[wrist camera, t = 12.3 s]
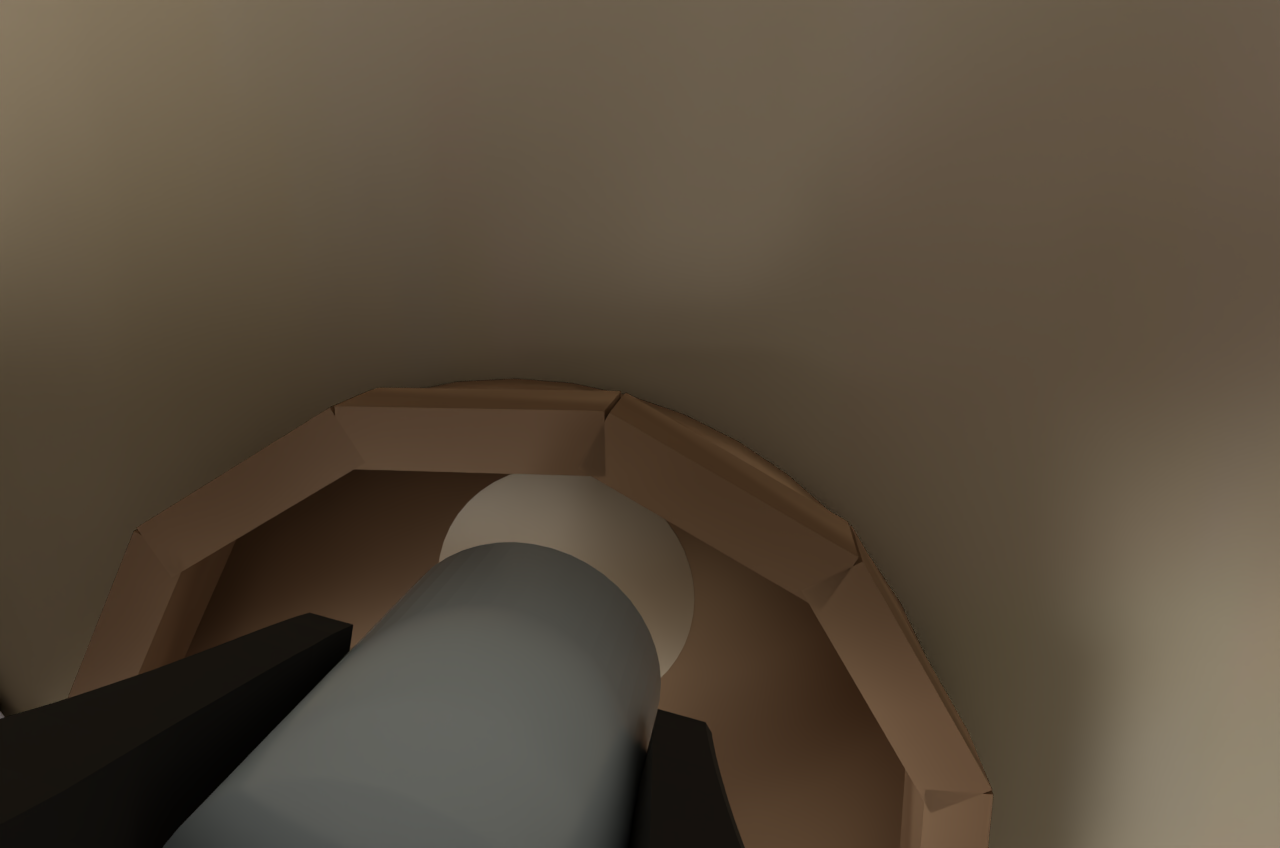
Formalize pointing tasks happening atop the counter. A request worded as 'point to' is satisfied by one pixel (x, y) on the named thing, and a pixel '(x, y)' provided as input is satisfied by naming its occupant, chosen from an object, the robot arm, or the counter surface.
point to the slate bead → (461, 721)
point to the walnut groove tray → (612, 544)
